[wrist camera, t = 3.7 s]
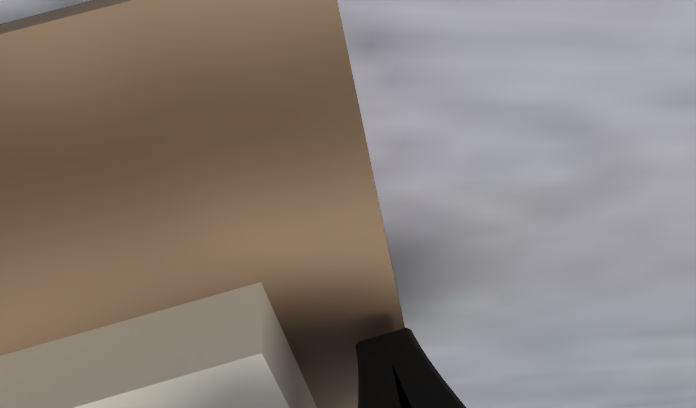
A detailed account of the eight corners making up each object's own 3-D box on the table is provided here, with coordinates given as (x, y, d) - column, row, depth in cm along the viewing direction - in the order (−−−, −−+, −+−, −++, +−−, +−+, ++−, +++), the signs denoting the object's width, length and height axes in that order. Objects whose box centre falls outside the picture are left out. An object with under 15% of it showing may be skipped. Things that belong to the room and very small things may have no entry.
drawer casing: (413, 412, 19) (437, 484, 17) (54, 518, 19) (21, 610, 16) (307, -55, 9) (326, -51, 7) (-470, 145, 9) (-766, 232, 6)
